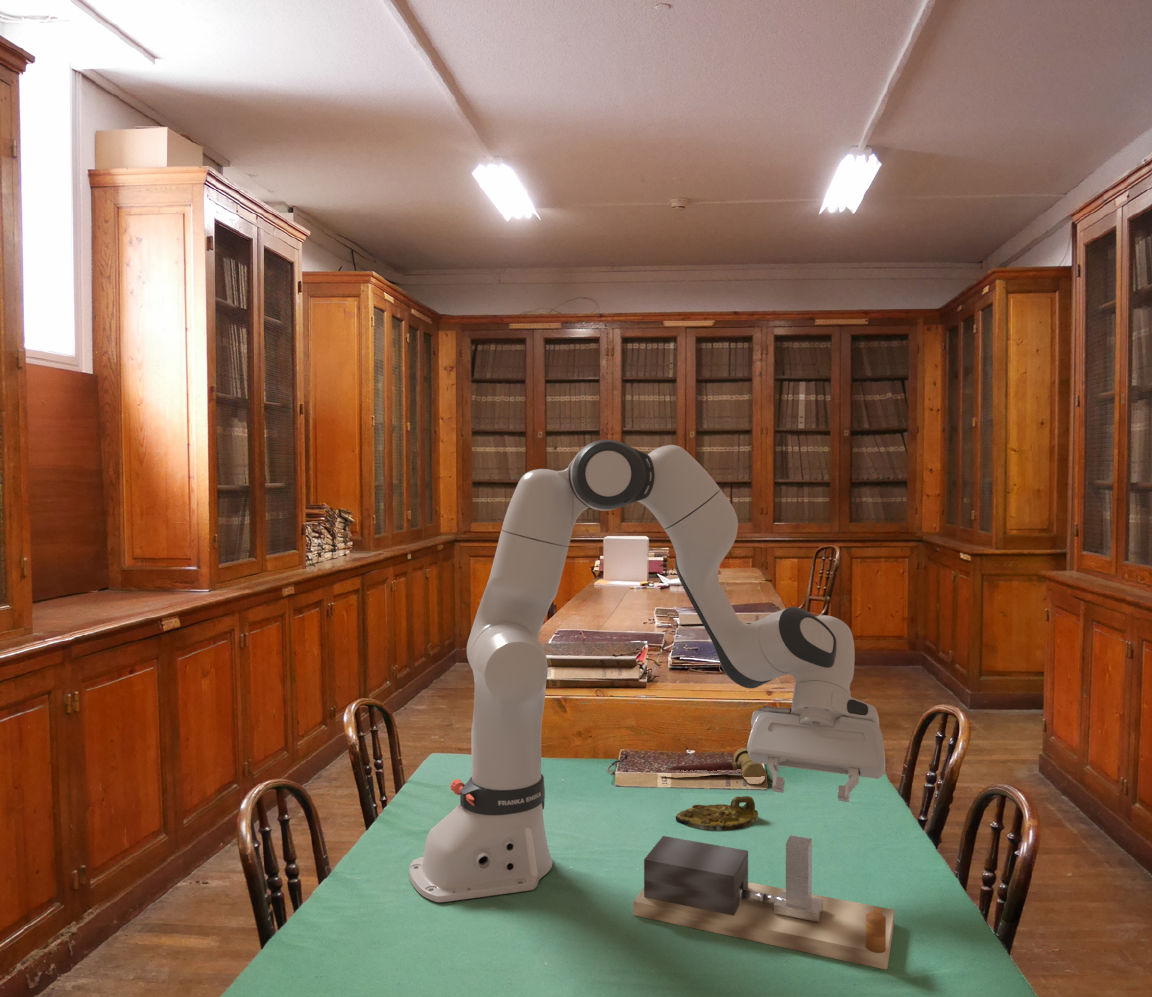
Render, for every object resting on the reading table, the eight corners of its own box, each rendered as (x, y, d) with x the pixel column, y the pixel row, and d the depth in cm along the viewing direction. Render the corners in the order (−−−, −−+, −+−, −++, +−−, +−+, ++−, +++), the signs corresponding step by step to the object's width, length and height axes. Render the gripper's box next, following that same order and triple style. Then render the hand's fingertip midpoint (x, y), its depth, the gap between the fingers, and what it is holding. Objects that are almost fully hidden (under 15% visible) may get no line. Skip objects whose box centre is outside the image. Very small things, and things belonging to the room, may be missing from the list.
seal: (682, 840, 152) (766, 833, 154) (683, 814, 151) (766, 808, 153) (670, 813, 161) (748, 807, 163) (670, 789, 160) (749, 783, 162)
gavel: (661, 771, 174) (655, 754, 184) (662, 794, 174) (656, 776, 184) (765, 762, 174) (754, 746, 184) (767, 785, 174) (755, 767, 184)
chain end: (657, 889, 127) (657, 823, 126) (665, 877, 131) (665, 813, 130) (818, 921, 118) (819, 850, 117) (823, 907, 121) (823, 839, 121)
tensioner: (633, 915, 124) (632, 863, 124) (660, 878, 135) (660, 830, 135) (887, 970, 110) (887, 912, 110) (894, 923, 121) (894, 870, 121)
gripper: (750, 694, 139) (736, 775, 131) (886, 708, 131) (881, 795, 123) (756, 714, 144) (743, 794, 135) (889, 729, 135) (883, 815, 127)
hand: (810, 795), depth 129 cm, fingers open, 8 cm apart
